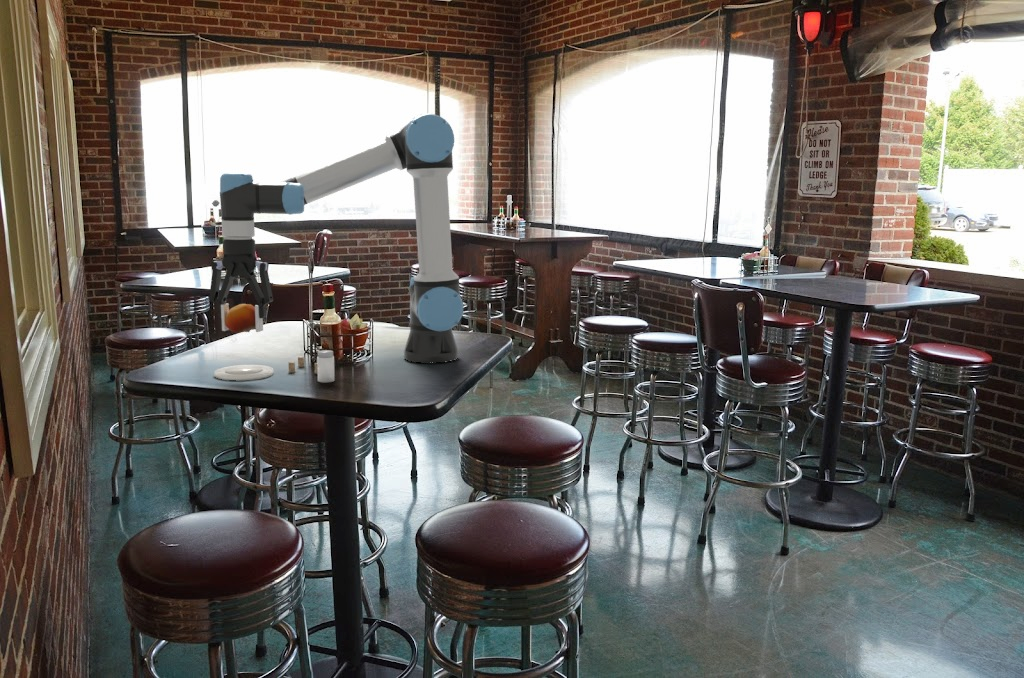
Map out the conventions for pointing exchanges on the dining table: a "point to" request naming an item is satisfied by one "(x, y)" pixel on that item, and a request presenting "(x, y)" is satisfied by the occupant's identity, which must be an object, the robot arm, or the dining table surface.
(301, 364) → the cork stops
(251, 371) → the saucer
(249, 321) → the fruit
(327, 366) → the salt shaker
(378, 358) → the dining table surface
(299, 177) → the robot arm
